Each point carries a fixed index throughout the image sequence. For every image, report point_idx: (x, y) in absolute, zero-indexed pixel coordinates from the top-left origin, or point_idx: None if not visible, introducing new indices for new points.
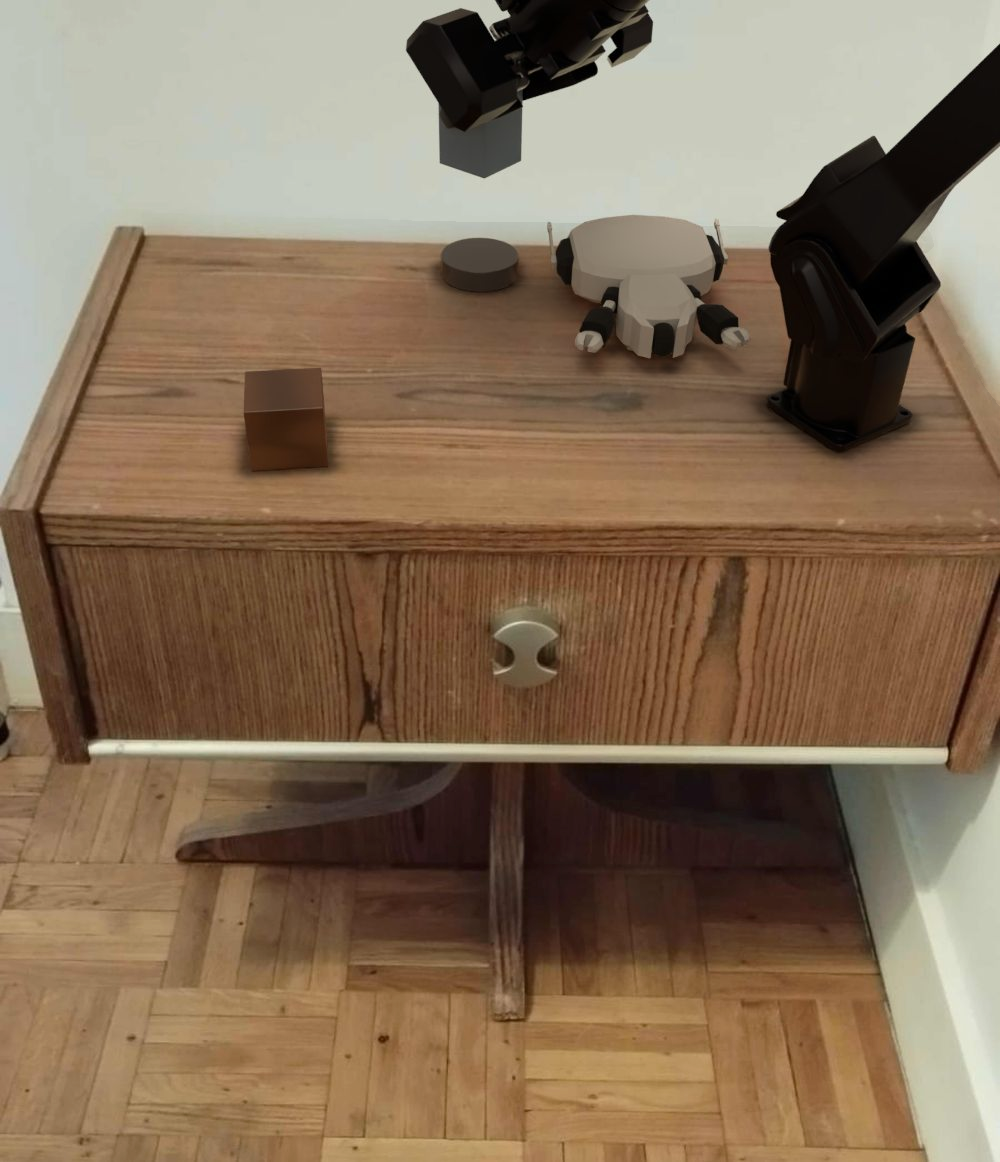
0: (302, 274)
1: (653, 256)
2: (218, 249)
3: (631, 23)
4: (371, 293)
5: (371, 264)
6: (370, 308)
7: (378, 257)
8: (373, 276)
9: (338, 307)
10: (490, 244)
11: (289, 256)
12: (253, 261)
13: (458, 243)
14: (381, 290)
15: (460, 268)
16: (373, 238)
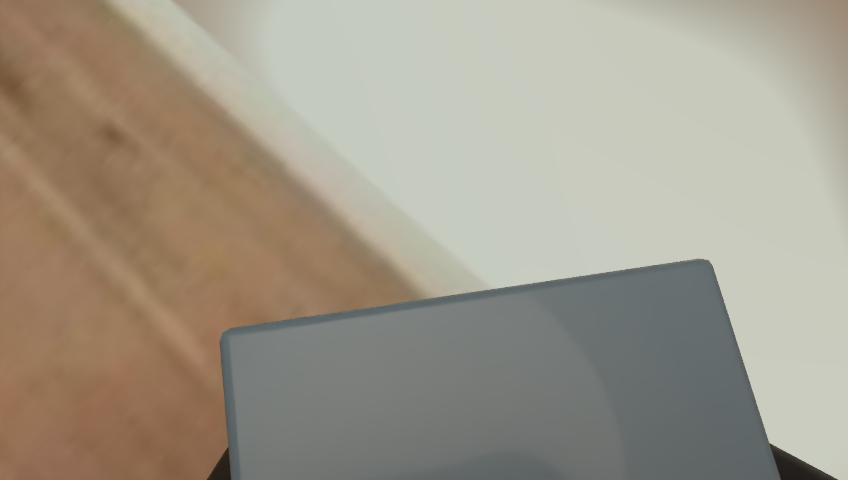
0: (77, 214)
1: None
2: (34, 10)
3: None
4: (123, 398)
5: (232, 278)
6: (63, 462)
7: (269, 260)
8: (191, 329)
9: (11, 404)
10: None
11: (121, 128)
12: (45, 98)
13: None
14: (153, 401)
15: None
16: (326, 179)
